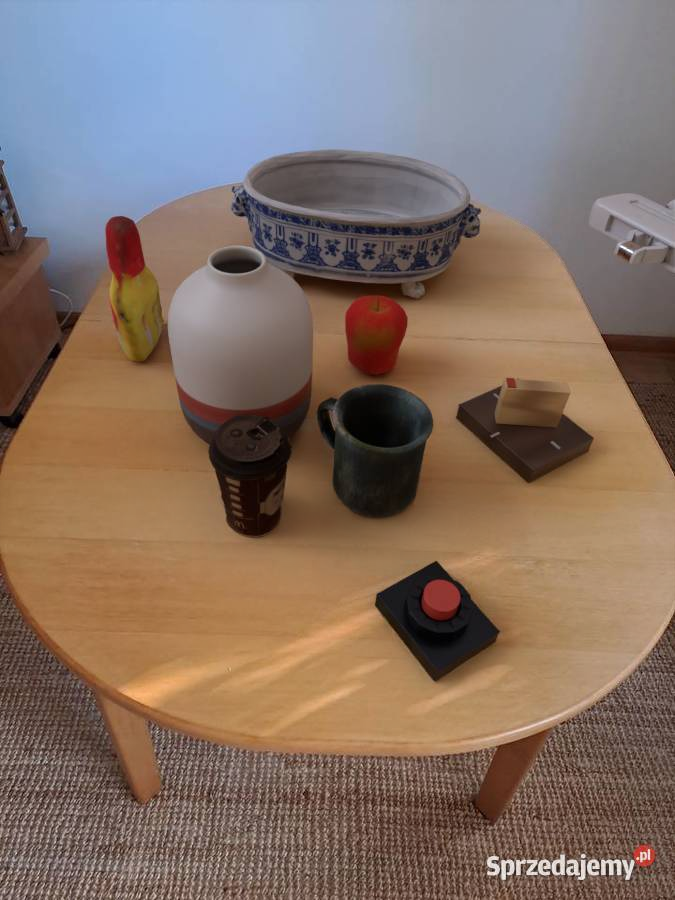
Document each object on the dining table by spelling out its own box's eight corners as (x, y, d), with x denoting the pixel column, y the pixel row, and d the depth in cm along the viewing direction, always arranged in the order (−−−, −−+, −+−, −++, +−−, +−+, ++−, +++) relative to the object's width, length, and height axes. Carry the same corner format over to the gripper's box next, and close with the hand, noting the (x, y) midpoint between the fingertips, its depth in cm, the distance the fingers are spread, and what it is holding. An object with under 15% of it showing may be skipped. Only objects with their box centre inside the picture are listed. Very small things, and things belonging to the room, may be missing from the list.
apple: (332, 373, 97) (336, 303, 89) (357, 342, 103) (362, 274, 94) (387, 391, 95) (396, 321, 86) (409, 359, 100) (419, 291, 92)
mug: (384, 538, 77) (396, 467, 68) (289, 476, 83) (289, 403, 74) (436, 485, 83) (453, 413, 74) (344, 430, 89) (350, 358, 80)
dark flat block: (591, 449, 88) (598, 435, 87) (524, 485, 83) (530, 471, 82) (517, 390, 96) (521, 375, 94) (452, 419, 91) (455, 404, 89)
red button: (464, 609, 66) (468, 600, 65) (436, 627, 65) (439, 617, 64) (441, 583, 68) (444, 573, 67) (414, 599, 67) (416, 589, 66)
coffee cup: (292, 488, 81) (291, 408, 72) (293, 544, 75) (292, 465, 66) (219, 489, 81) (209, 409, 71) (215, 546, 75) (203, 466, 66)
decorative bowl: (217, 292, 110) (209, 205, 100) (246, 217, 129) (241, 137, 118) (475, 314, 109) (495, 228, 99) (466, 235, 128) (482, 156, 117)
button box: (495, 642, 68) (504, 622, 65) (434, 682, 65) (440, 662, 62) (433, 571, 74) (439, 550, 71) (374, 605, 70) (377, 583, 68)
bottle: (156, 370, 96) (131, 241, 81) (111, 368, 96) (79, 239, 81) (171, 322, 104) (152, 197, 90) (130, 320, 104) (104, 195, 90)
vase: (291, 477, 83) (290, 315, 66) (162, 450, 85) (129, 287, 68) (324, 391, 94) (331, 235, 77) (210, 369, 96) (192, 213, 80)
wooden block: (554, 417, 89) (568, 380, 84) (557, 427, 87) (571, 391, 83) (494, 413, 89) (504, 376, 84) (495, 423, 87) (506, 386, 83)
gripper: (638, 174, 91) (568, 195, 85) (777, 239, 79) (706, 268, 74) (622, 218, 95) (554, 241, 90) (752, 285, 84) (683, 317, 78)
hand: (624, 254), depth 82 cm, fingers closed
